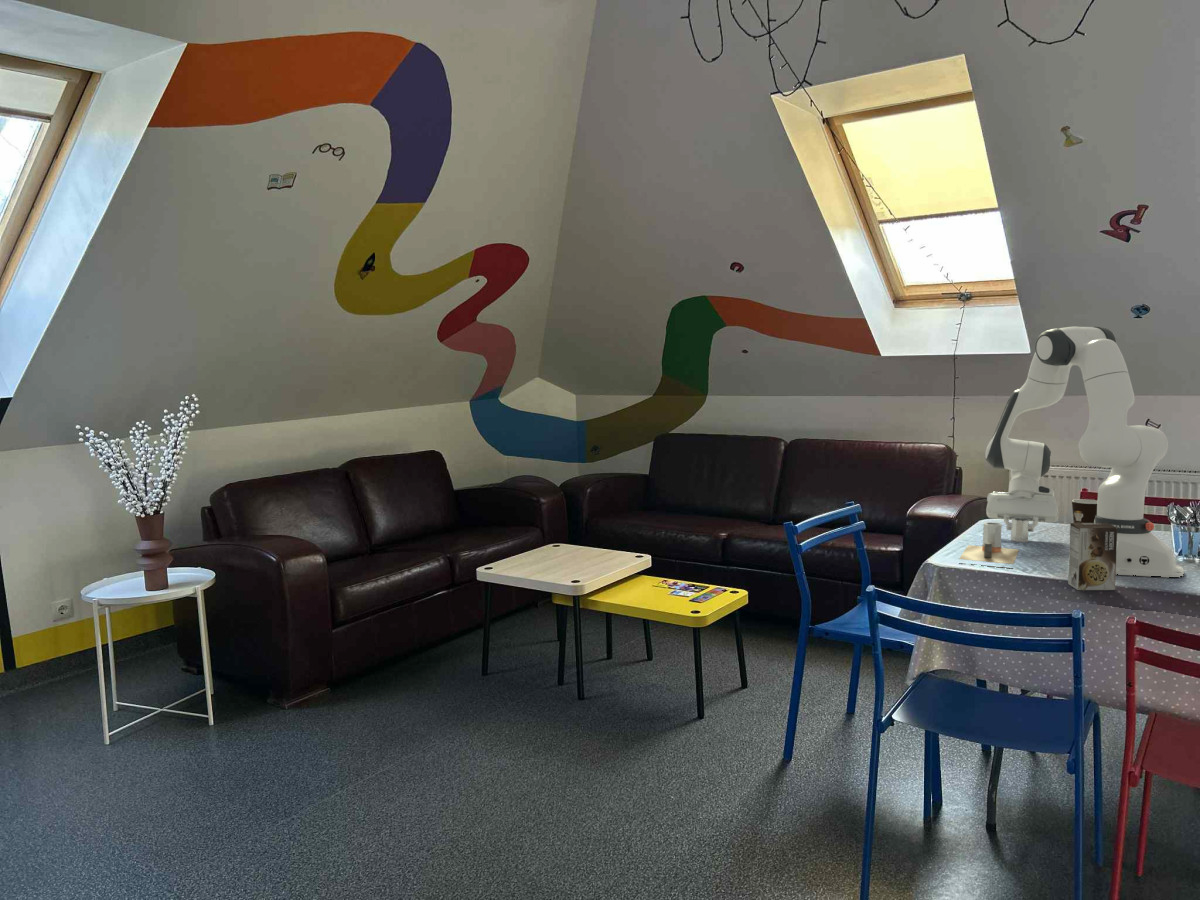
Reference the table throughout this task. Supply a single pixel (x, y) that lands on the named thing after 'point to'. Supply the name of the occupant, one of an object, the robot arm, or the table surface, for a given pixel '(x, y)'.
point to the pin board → (995, 556)
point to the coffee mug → (1084, 510)
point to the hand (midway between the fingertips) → (1019, 529)
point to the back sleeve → (992, 535)
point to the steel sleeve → (1019, 530)
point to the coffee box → (1092, 556)
